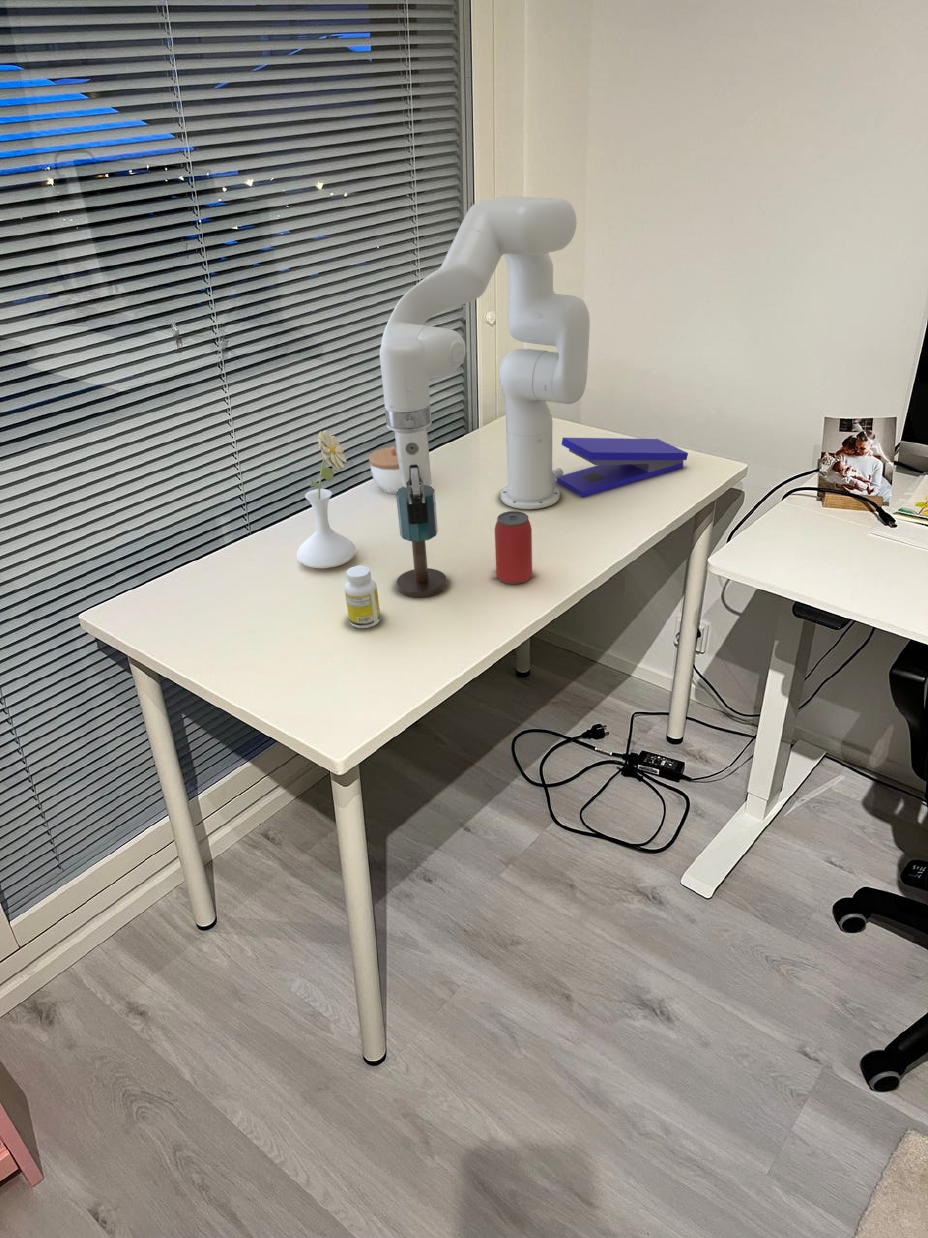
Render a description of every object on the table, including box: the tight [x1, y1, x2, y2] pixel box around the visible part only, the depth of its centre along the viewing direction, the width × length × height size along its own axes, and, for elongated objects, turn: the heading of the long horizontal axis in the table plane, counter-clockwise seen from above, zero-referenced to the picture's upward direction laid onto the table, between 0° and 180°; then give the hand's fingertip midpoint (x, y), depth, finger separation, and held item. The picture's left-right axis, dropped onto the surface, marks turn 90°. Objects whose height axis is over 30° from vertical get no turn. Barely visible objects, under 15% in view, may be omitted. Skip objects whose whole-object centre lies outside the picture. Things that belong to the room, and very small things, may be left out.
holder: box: [396, 540, 448, 599], centre depth 171 cm, size 9×9×13 cm
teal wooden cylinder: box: [395, 483, 439, 542], centre depth 167 cm, size 6×6×8 cm
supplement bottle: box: [344, 565, 381, 629], centre depth 162 cm, size 5×5×10 cm
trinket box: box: [368, 446, 404, 495], centre depth 210 cm, size 11×11×9 cm
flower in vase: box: [296, 429, 357, 569], centre depth 179 cm, size 13×11×25 cm
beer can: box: [494, 510, 533, 585], centre depth 172 cm, size 7×7×12 cm
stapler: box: [556, 437, 689, 498], centre depth 210 cm, size 12×28×10 cm, turn 119°
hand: (417, 512), depth 167 cm, fingers closed on teal wooden cylinder, 6 cm apart
